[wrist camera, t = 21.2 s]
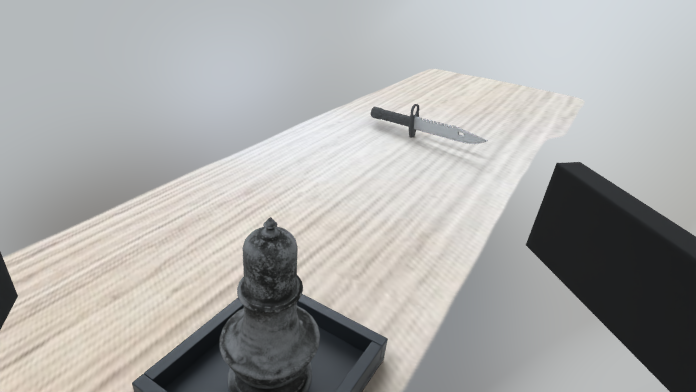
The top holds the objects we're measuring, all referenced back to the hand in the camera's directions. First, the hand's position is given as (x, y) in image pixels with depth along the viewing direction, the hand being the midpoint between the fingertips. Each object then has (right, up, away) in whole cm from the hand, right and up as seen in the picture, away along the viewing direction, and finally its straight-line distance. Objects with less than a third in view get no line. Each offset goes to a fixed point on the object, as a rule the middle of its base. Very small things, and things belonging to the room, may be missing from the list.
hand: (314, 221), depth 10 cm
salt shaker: (-4, -11, +17) cm, 21 cm away
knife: (+12, +9, +55) cm, 57 cm away
